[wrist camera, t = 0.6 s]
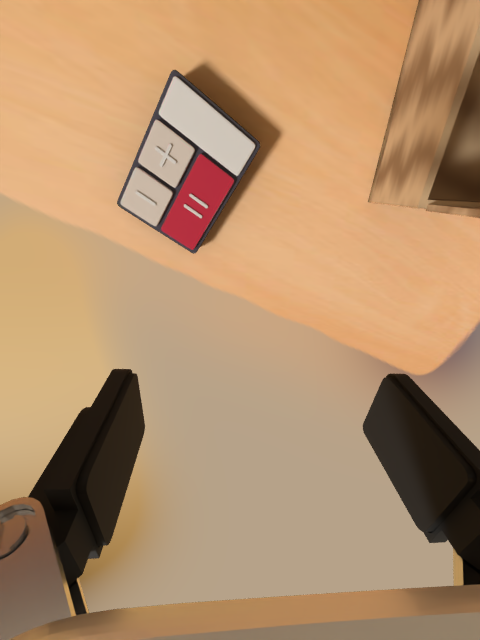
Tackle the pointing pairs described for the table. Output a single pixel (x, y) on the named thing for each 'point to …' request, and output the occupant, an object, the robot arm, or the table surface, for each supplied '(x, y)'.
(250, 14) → the table surface
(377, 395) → the robot arm
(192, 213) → the calculator
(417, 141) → the carton
